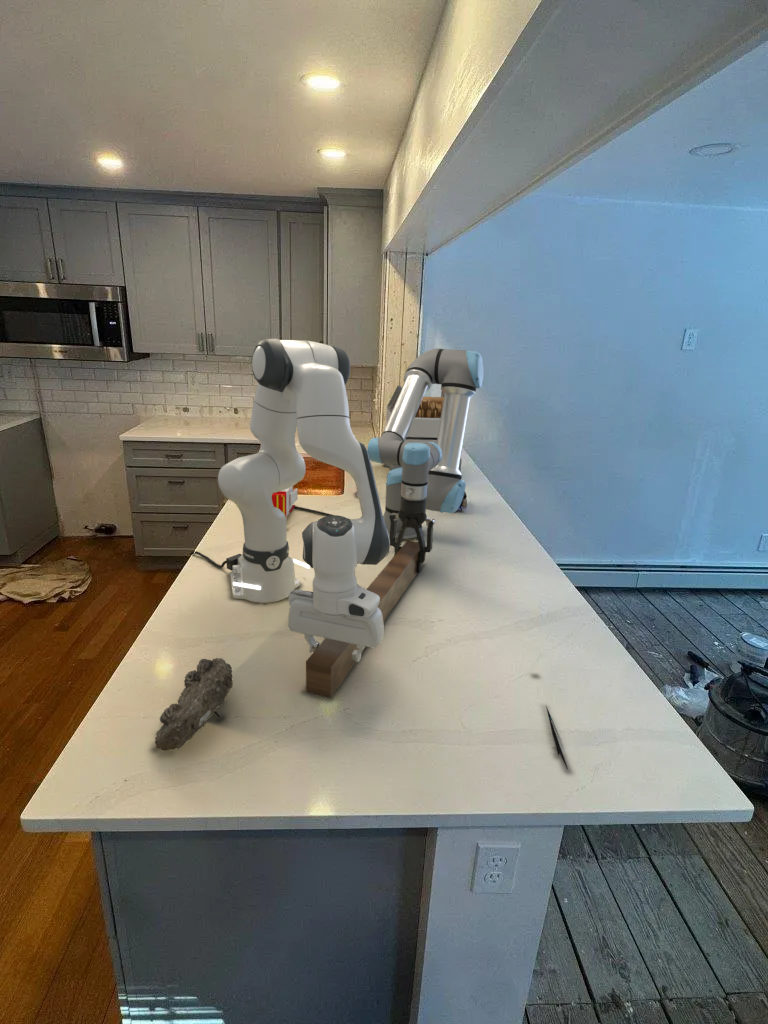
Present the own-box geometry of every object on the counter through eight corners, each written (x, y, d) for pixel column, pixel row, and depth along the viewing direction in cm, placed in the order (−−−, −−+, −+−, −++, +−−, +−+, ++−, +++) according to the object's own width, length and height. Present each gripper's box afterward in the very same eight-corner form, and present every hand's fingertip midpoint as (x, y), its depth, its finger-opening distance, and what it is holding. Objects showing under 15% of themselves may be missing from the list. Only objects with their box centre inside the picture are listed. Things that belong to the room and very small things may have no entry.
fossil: (182, 659, 118) (233, 627, 113) (214, 689, 120) (265, 659, 115) (130, 744, 98) (189, 710, 93) (170, 778, 101) (229, 746, 96)
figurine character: (467, 516, 223) (461, 500, 237) (469, 499, 220) (463, 483, 233) (450, 516, 223) (446, 499, 236) (452, 498, 220) (447, 483, 233)
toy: (299, 479, 223) (289, 492, 194) (299, 512, 226) (289, 530, 197) (268, 478, 223) (253, 491, 193) (268, 512, 225) (254, 529, 196)
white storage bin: (382, 463, 289) (386, 382, 275) (445, 464, 293) (451, 384, 279) (390, 482, 257) (394, 392, 243) (460, 483, 261) (468, 394, 247)
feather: (536, 679, 125) (541, 673, 125) (567, 774, 99) (575, 766, 98) (529, 675, 125) (535, 669, 124) (559, 769, 98) (567, 762, 98)
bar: (406, 561, 178) (407, 540, 176) (422, 565, 176) (424, 542, 174) (306, 691, 116) (305, 661, 114) (330, 698, 115) (330, 667, 112)
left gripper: (281, 594, 114) (283, 653, 119) (377, 612, 108) (375, 673, 113) (295, 581, 120) (297, 638, 125) (387, 597, 114) (385, 656, 119)
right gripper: (379, 496, 163) (376, 569, 171) (441, 505, 158) (435, 580, 166) (387, 489, 170) (384, 559, 178) (447, 498, 164) (441, 570, 172)
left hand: (335, 655), depth 119 cm, fingers open, 8 cm apart
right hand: (409, 569), depth 172 cm, fingers closed on bar, 5 cm apart
